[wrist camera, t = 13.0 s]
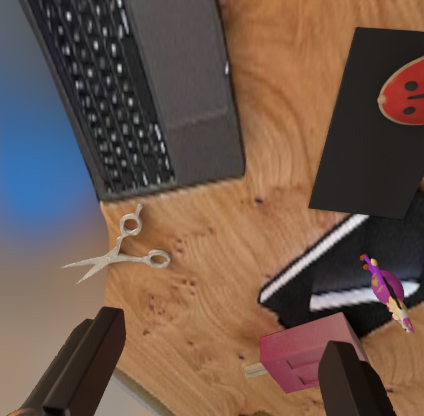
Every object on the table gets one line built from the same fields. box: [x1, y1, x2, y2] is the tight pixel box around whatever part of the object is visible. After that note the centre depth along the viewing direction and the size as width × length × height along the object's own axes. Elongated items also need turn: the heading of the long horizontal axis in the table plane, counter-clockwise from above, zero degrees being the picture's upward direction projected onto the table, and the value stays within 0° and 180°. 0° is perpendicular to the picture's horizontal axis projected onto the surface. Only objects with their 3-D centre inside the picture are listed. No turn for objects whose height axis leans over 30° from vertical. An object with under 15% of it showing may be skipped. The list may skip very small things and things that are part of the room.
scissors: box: [61, 203, 171, 284], centre depth 43 cm, size 11×1×20 cm
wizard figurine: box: [360, 254, 414, 333], centre depth 33 cm, size 11×3×12 cm, turn 32°
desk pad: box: [309, 27, 424, 219], centre depth 31 cm, size 20×12×1 cm, turn 176°
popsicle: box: [244, 312, 370, 394], centre depth 46 cm, size 9×5×20 cm
